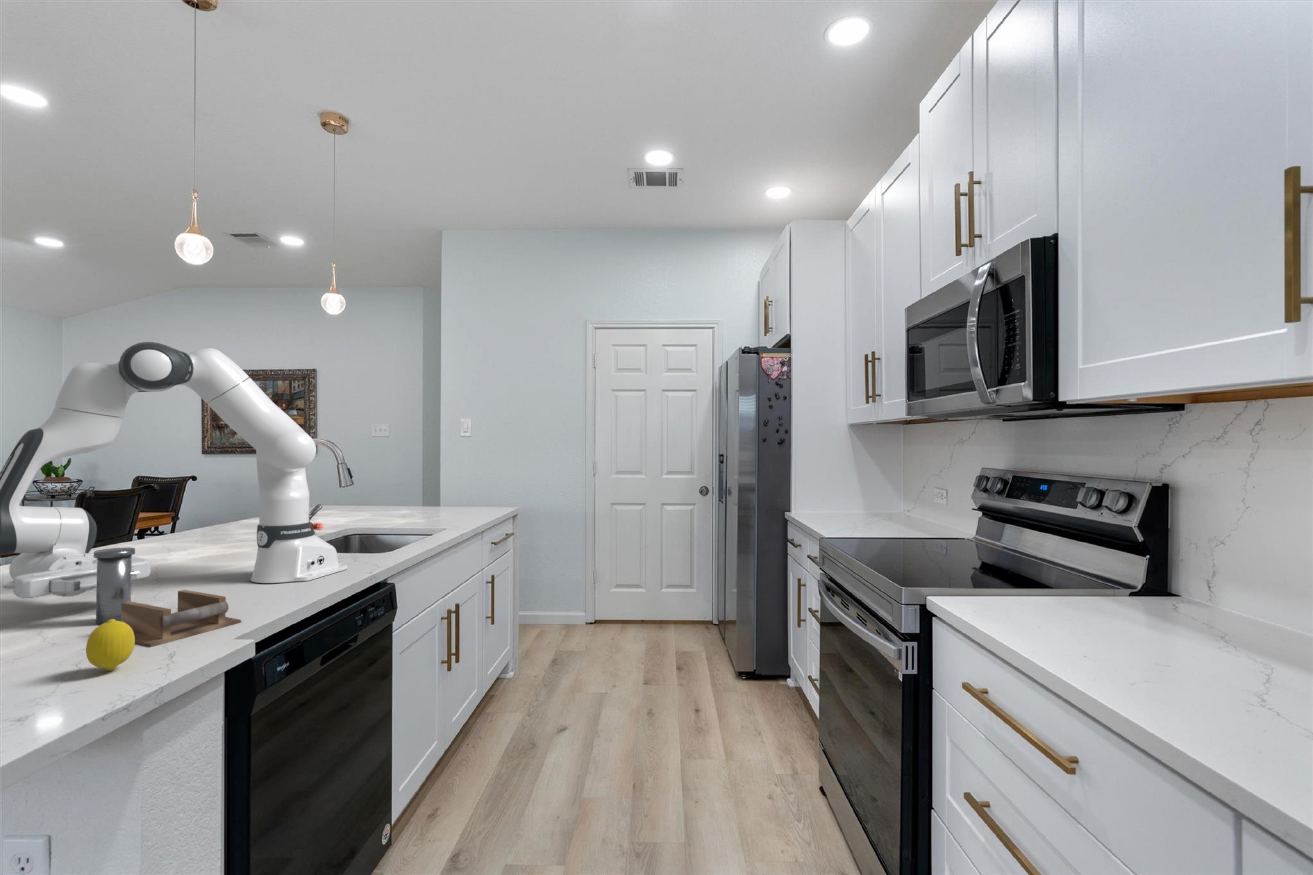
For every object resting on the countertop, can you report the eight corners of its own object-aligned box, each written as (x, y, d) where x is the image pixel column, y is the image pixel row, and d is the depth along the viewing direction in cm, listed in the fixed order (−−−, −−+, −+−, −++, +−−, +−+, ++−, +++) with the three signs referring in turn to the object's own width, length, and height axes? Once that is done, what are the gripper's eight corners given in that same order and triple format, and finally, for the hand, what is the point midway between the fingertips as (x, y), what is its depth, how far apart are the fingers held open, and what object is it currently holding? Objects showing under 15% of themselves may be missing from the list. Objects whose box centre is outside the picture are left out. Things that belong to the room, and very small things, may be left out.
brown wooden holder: (193, 613, 120) (194, 586, 120) (241, 622, 114) (241, 594, 114) (102, 635, 106) (102, 605, 106) (150, 646, 100) (151, 615, 100)
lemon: (110, 678, 87) (111, 625, 87) (74, 677, 87) (75, 624, 87) (144, 664, 93) (145, 614, 93) (110, 663, 93) (111, 613, 93)
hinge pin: (123, 614, 118) (124, 546, 118) (140, 618, 116) (141, 548, 116) (85, 623, 113) (86, 551, 113) (102, 627, 110) (104, 554, 110)
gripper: (-2, 569, 111) (35, 576, 106) (128, 550, 130) (165, 555, 125) (-3, 602, 111) (34, 610, 106) (128, 578, 130) (165, 585, 125)
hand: (106, 580), depth 115 cm, fingers open, 8 cm apart
